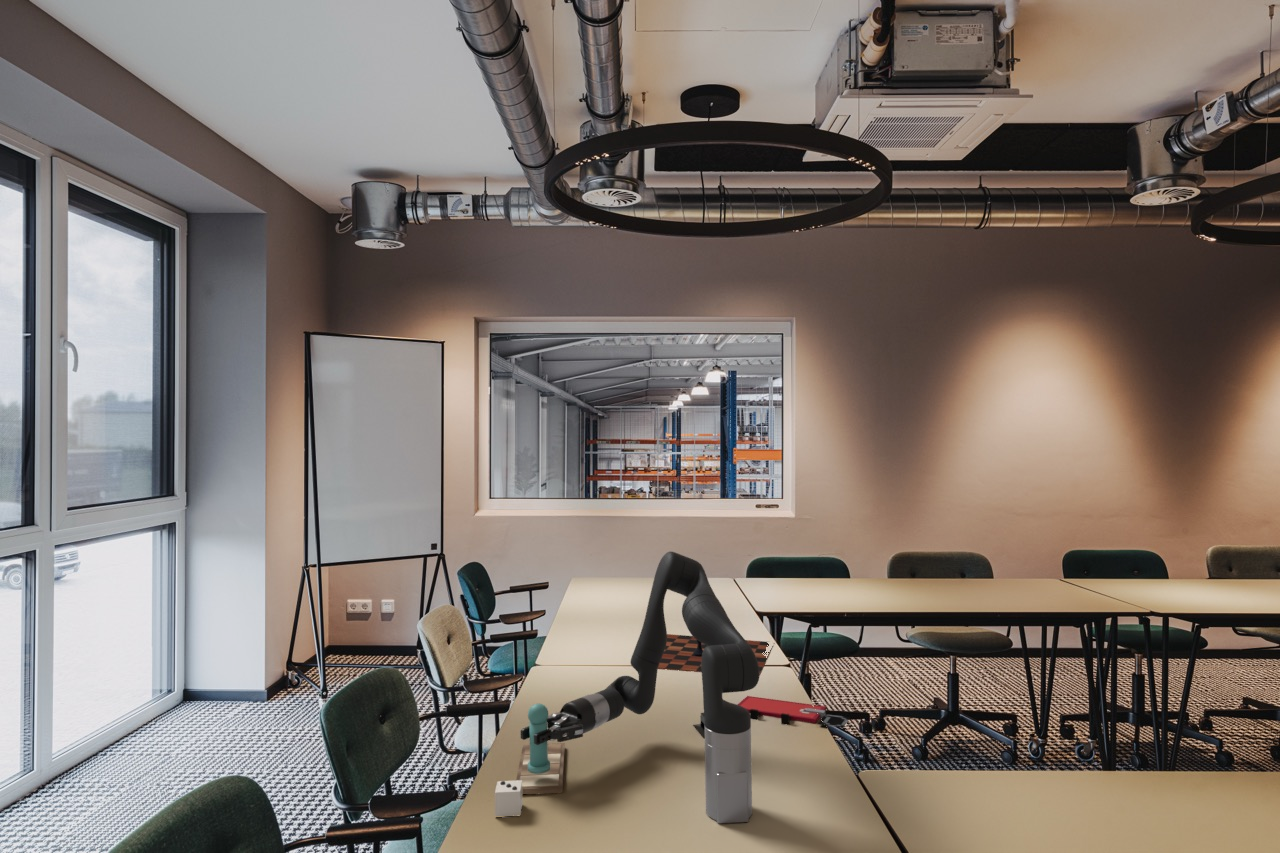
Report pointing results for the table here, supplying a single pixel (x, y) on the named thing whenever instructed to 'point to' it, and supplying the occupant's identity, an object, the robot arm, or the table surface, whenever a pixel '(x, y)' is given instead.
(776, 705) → the red board with handle
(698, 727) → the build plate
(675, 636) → the chessboard
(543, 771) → the pawn
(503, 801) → the die
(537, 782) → the board
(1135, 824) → the table surface
